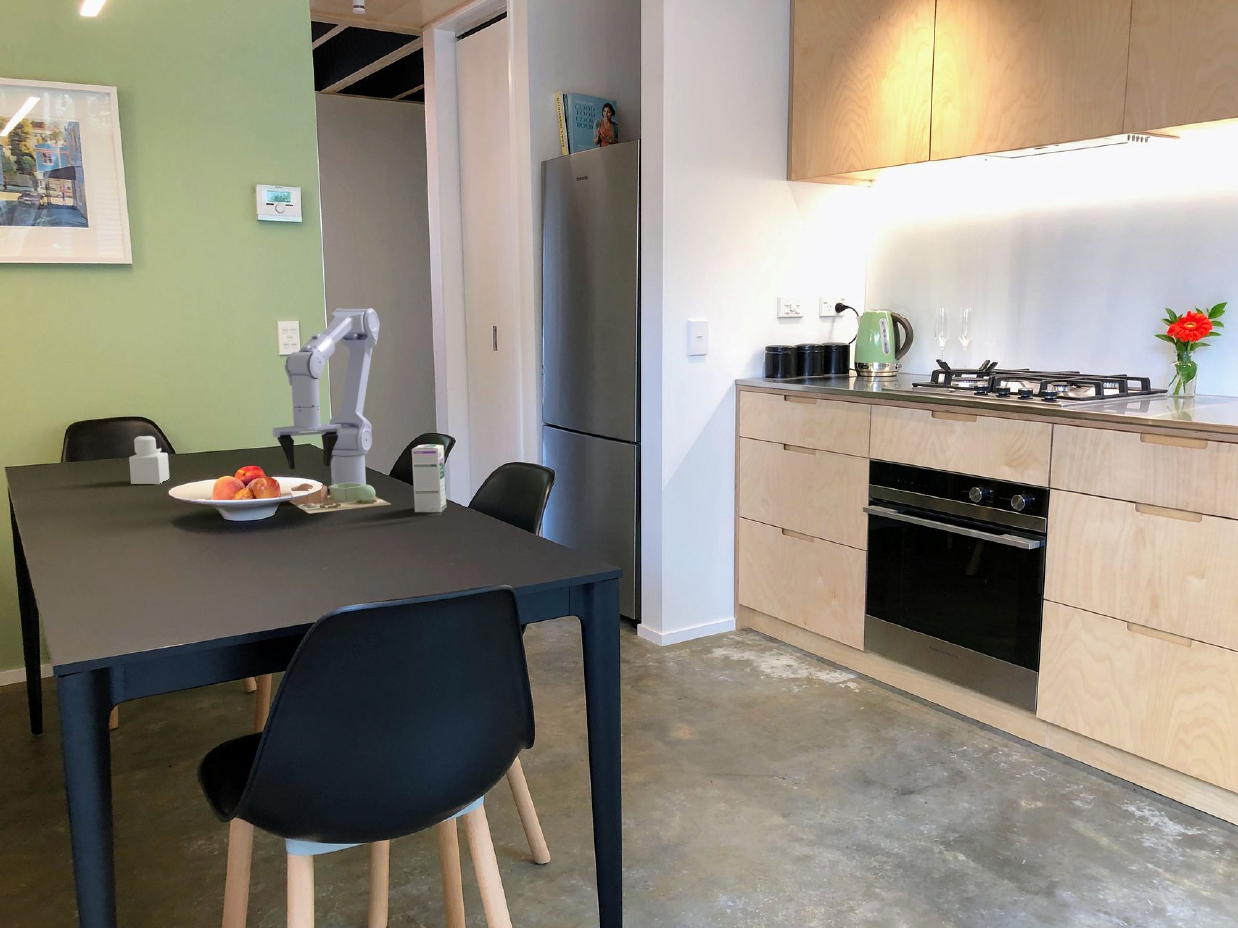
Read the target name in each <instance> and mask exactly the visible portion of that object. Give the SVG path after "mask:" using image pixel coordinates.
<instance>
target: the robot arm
mask: <svg viewBox="0 0 1238 928" xmlns="http://www.w3.org/2000/svg"><path fill="white" fill-rule="evenodd" d="M380 326H381V325H380V320H379V317H378V314H377V312H376V310H374V308H371V307H370V308H339V307H338V308H336V309H335V310H334V311H333V312H332V313H331V315H330V323H329V324H328V325H327V327H326V329H325V330H324V331H323V332H322V333H313V334H312V335H311V338H310V339H309V340H308V341H307V342H306V343H305V344H304V345H303V346H302V347H301V348H300V349H299V350H298V351H292V352H291V353H290V354H289V355H288V356H287V357H286V360H285V364H284V370H285V373H286V375H287V377H288V378H287V379H288V384H289V386H291V395H292V396H291V398H292V412H293V413H292V415H293V416H292V417H293V425H290V426H282V427H272V437H273V438H277V441H278V443H279V444H280V447H281V449H282V450H283V452H284V455H285V457H286V460H287V464H288V468H289V470H295V469H296V467H295V465H296V464H295V456H294V454H295V451H294V450H295V449H294V446H295V440H294V439H293V437H298V436H312V435H313V436H314V435H321V441H322V449H323V453H322V454H323V458H322V459H323V466H325V467H330V473H331V485H334V484H340V483H362V484H364V485H367V481H366V456H365V455H366V454H368V452H369V451H370V449H371V447H372V443H373V437H372V436H373V435H372V424H371V422H370V421H369V420H368V419H367V418H366V417H365V416H364V415H363V413H364V406H365V400H366V393H367V385H368V382H369V380H368V379H369V374H370V368H371V362H372V361H371V360H372V354H373V348H374V347H375V346H377V344H378V339H379V331H380ZM339 341H340V343H341V345H342V346H344V347H346V348H348V350H349V356H348V362H347V369H346V375H345V381H344V385H343V386H344V387H343V395H342V400H341V406H340V412H339V413H337V414H336V415H334V416H333V417H331V418H330V420H329V424H328V423H327V424H325V423H324V424H323V423H322V424H321V420H322V419H321V405H320V404H321V401H320V399H321V398H320V383H319V382H320V381H319V379H320V377H322V376H323V373H324V368H325V366H326V362H327V361H328V360H329V359H330V358H331V357H332V355H333V354H334V353H335V350H336V344H337V343H338V342H339ZM332 455H333V456H332ZM331 485H329V486H327V489H328V490H330V486H331Z"/></svg>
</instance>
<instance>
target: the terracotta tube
mask: <svg viewBox="0 0 1238 928" xmlns="http://www.w3.org/2000/svg"><path fill="white" fill-rule="evenodd" d="M320 485H321V486H322V488H321V489H320V490H318V491H316V492H314V493H313V494H308V495H306V496H303V497H298V498H296V499H292V498H291V499H292V502H293V503H296V504H312V503H321V502H324V501H327V500H328V496H329V495H328V486H326V485H324V484H320ZM299 486H300V485H296V486H293V487H290V488H291V489H290V491H291V490H292V491H309V490H297V488H298V487H299ZM293 503H292V504H293Z"/></svg>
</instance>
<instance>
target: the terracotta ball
mask: <svg viewBox="0 0 1238 928" xmlns="http://www.w3.org/2000/svg"><path fill="white" fill-rule="evenodd" d="M312 485H313V484H310V483H302V484H299V485H298V486H299V487H298V488H297V490H308V489H312V488H313V486H312Z"/></svg>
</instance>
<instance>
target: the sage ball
mask: <svg viewBox="0 0 1238 928" xmlns="http://www.w3.org/2000/svg"><path fill="white" fill-rule="evenodd" d="M357 497H358V499H359V500H360V501H362V502H371V501H372V500H373V499H374V498H375V497H376V490H375V488H374V487H373V486H372V485H370V484H366V485H362V486H361V487H359V489H358V490H357Z"/></svg>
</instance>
